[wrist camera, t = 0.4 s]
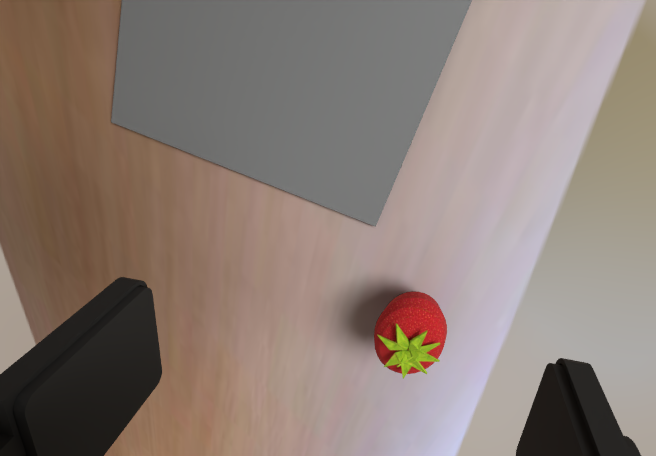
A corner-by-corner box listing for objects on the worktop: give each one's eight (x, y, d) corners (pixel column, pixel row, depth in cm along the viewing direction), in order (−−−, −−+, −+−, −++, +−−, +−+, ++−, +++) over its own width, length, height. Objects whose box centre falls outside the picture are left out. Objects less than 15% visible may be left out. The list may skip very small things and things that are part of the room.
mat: (139, -140, 33) (134, -143, 32) (478, -17, 31) (479, -18, 31) (115, 120, 42) (111, 122, 41) (376, 223, 41) (375, 226, 40)
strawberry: (371, 318, 45) (355, 392, 36) (395, 257, 42) (384, 321, 33) (428, 338, 45) (426, 418, 36) (457, 278, 41) (463, 349, 32)
